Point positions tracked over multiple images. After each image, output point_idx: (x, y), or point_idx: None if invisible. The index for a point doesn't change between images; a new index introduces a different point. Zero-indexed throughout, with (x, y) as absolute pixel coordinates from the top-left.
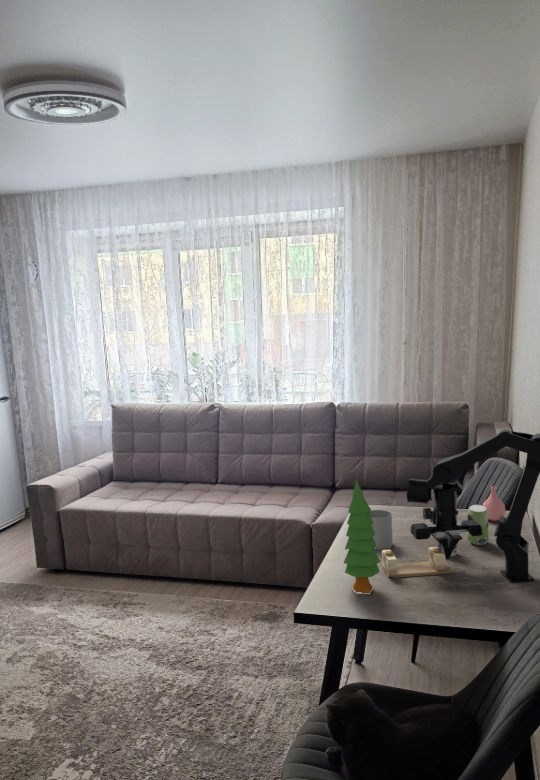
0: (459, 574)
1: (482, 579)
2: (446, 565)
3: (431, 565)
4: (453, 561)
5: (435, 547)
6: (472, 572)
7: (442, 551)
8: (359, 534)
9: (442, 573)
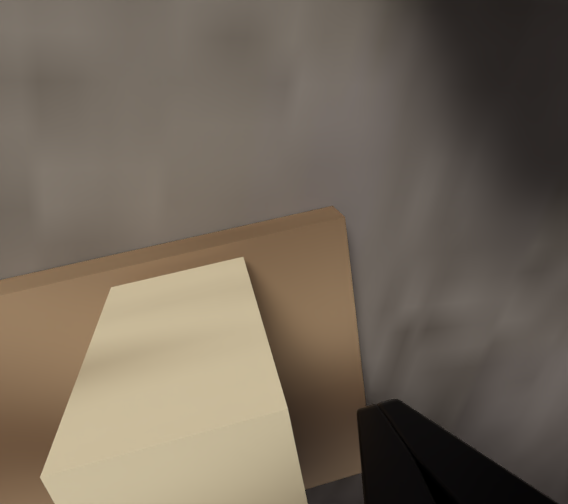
0: None
1: None
2: (337, 362)
3: None
4: (465, 132)
5: (245, 451)
6: (532, 400)
7: (364, 501)
8: None
9: None
